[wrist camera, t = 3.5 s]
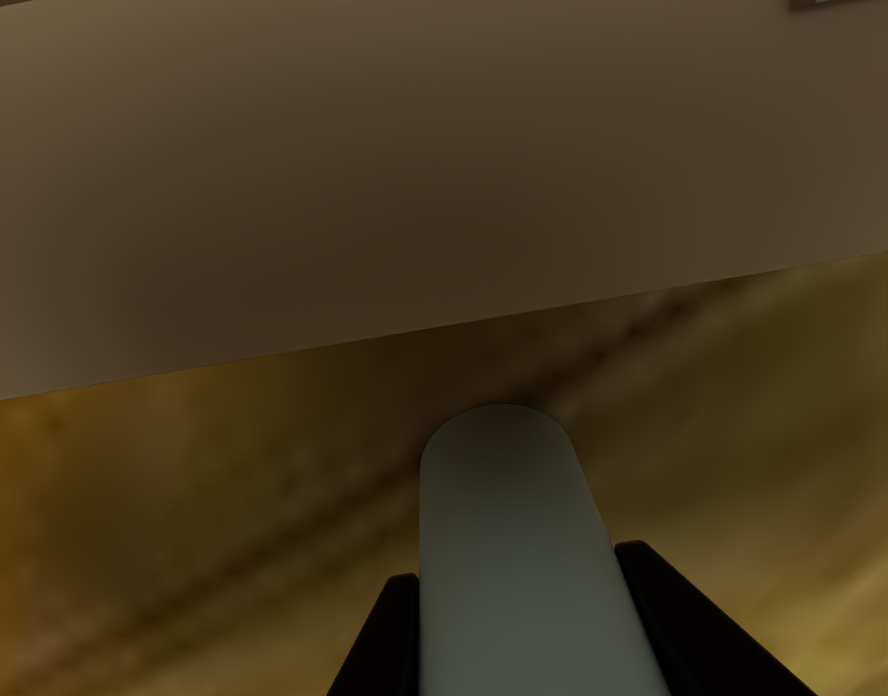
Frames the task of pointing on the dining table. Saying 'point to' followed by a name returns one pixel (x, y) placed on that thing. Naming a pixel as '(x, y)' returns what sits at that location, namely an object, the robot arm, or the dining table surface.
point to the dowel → (520, 568)
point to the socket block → (410, 165)
